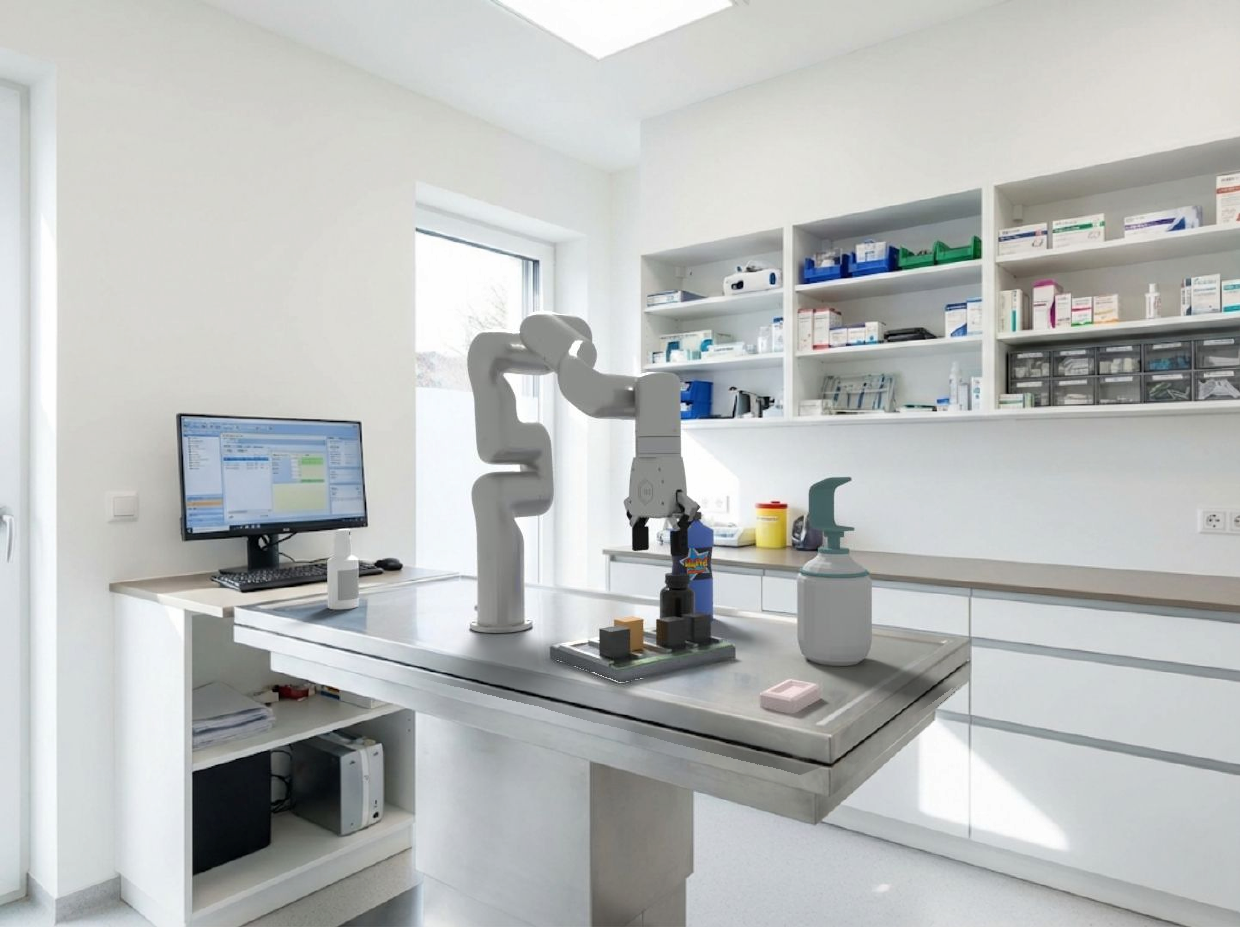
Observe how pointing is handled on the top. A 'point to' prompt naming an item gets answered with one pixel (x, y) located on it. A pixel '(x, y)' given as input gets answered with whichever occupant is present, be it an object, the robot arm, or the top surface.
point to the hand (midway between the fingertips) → (659, 552)
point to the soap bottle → (833, 591)
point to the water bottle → (698, 564)
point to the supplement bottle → (677, 596)
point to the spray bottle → (343, 574)
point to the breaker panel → (648, 649)
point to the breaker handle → (632, 630)
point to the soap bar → (790, 696)
